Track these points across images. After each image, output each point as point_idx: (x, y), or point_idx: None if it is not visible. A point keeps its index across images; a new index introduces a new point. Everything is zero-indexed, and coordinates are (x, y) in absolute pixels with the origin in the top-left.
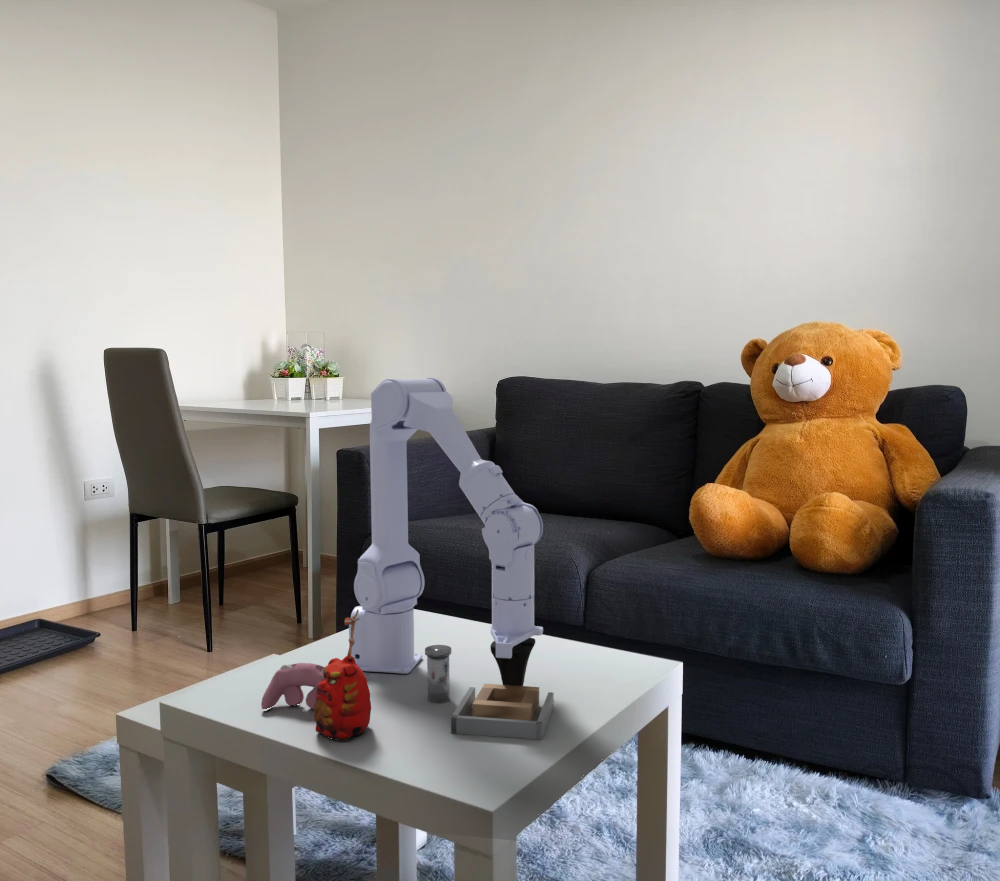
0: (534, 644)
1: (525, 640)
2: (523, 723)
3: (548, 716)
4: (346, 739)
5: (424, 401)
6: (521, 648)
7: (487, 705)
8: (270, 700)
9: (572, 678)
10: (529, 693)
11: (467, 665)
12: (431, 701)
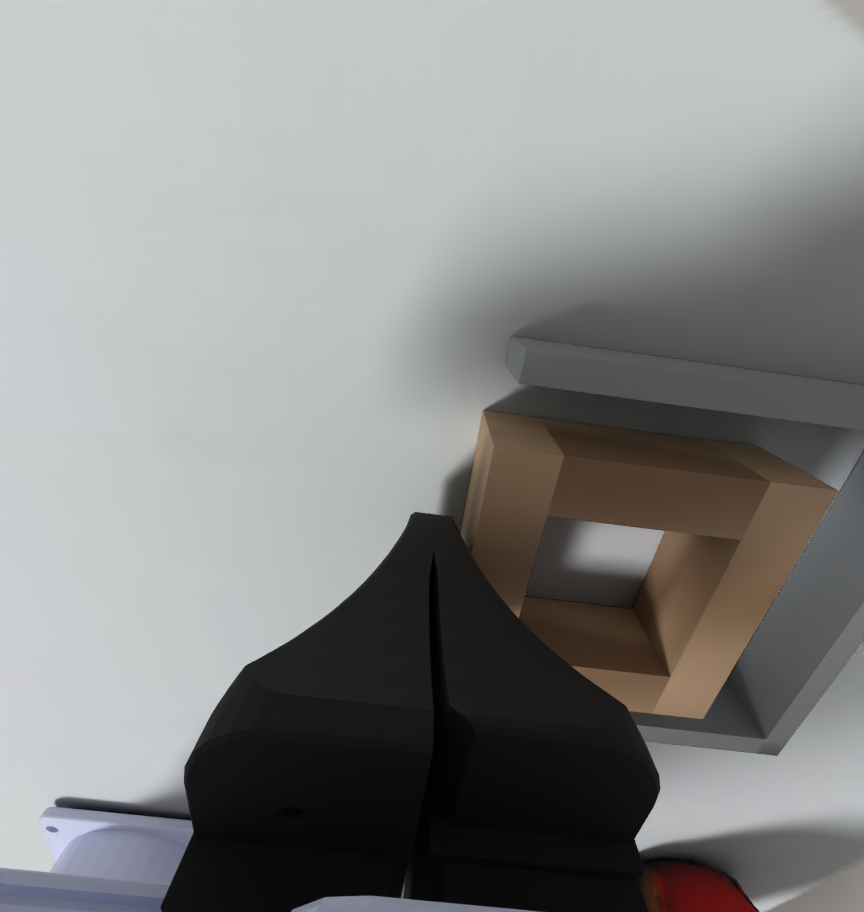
0: (370, 705)
1: (319, 816)
2: None
3: (723, 368)
4: (738, 883)
5: None
6: (570, 819)
7: (729, 669)
8: None
9: (13, 209)
10: (598, 499)
11: (55, 689)
12: None
